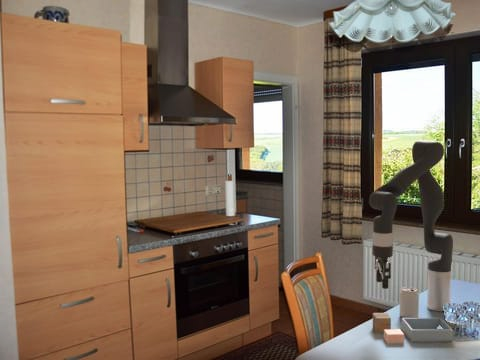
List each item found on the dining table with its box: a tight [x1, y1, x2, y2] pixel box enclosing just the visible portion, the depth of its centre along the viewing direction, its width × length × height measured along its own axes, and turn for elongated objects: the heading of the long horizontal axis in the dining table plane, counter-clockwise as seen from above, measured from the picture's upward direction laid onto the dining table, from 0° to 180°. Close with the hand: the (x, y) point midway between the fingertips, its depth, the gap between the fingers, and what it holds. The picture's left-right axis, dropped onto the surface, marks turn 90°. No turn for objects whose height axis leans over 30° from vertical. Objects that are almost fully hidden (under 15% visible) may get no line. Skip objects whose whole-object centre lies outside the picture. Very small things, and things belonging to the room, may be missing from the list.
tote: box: [401, 317, 454, 343], centre depth 182 cm, size 12×15×4 cm
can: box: [399, 286, 420, 318], centre depth 201 cm, size 8×8×12 cm
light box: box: [383, 328, 405, 344], centre depth 178 cm, size 4×6×4 cm
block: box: [372, 312, 392, 334], centre depth 187 cm, size 6×6×6 cm
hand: (382, 285), depth 186 cm, fingers open, 8 cm apart
